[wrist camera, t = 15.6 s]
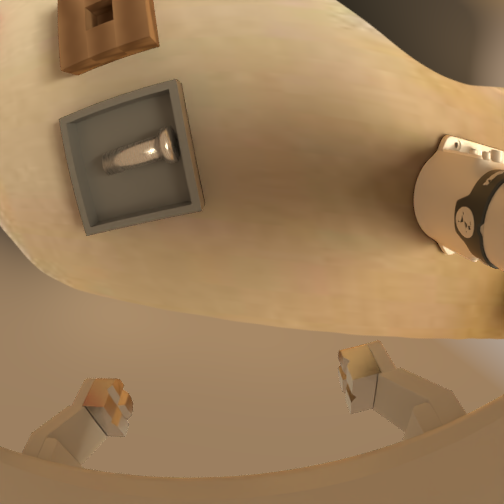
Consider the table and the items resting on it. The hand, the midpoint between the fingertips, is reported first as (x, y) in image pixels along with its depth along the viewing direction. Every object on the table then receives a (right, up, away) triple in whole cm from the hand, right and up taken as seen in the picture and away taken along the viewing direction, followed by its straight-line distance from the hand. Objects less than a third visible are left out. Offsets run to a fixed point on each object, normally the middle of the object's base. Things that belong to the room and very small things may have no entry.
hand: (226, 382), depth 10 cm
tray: (-14, +17, +26) cm, 34 cm away
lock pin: (-17, +15, +24) cm, 33 cm away
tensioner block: (-18, +35, +19) cm, 44 cm away
